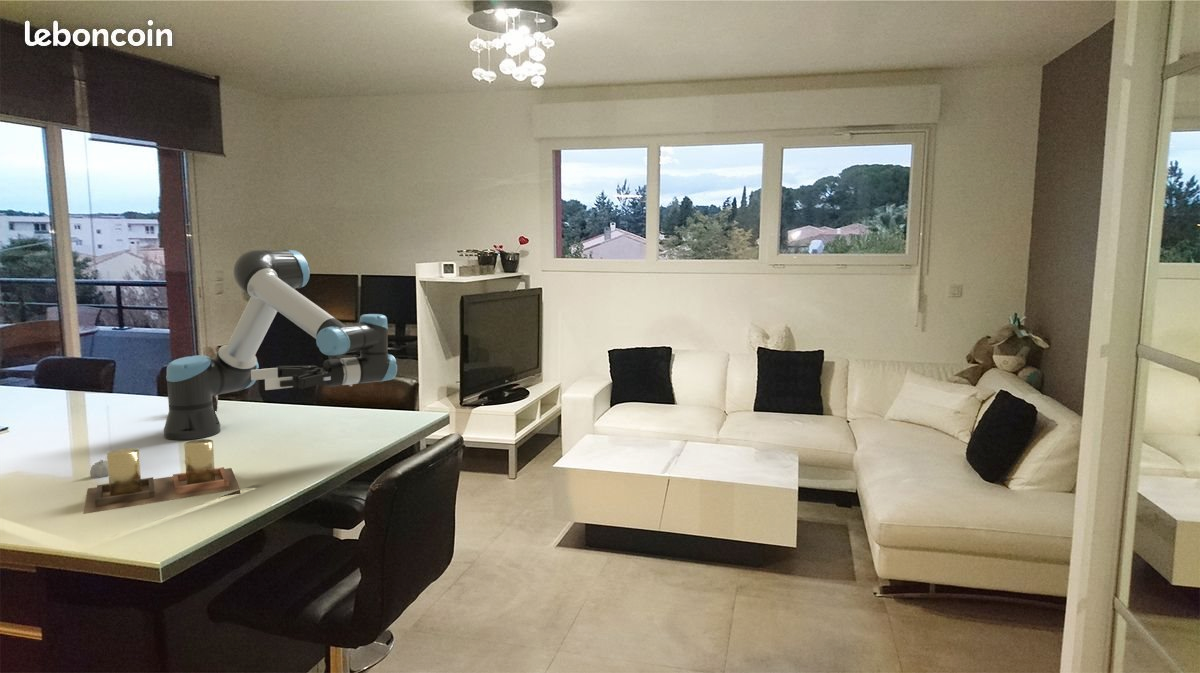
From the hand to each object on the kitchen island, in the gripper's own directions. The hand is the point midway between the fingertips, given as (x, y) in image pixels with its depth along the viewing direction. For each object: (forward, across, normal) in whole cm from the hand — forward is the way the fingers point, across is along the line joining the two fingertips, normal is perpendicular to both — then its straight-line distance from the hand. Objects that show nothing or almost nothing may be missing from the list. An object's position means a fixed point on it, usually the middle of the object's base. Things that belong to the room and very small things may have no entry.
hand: (257, 379), depth 182 cm
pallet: (+23, -7, -24) cm, 34 cm away
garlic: (+33, +14, -24) cm, 43 cm away
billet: (+30, -6, -23) cm, 38 cm away
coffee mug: (-2, +76, -25) cm, 80 cm away
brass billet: (+15, -8, -22) cm, 28 cm away
